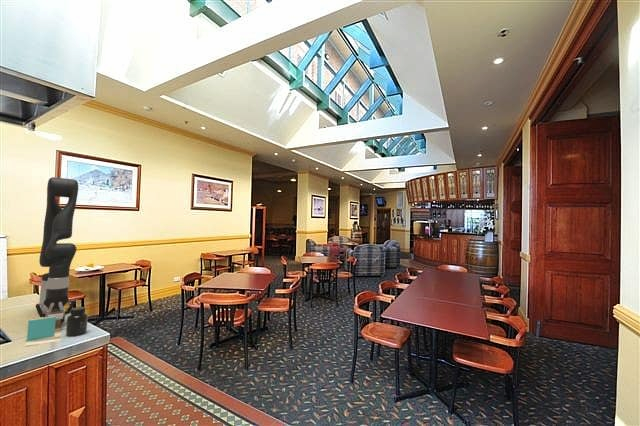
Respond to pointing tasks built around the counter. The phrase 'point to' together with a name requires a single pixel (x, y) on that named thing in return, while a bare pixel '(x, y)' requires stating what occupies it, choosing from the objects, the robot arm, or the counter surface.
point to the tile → (41, 328)
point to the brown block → (58, 316)
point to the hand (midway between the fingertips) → (54, 324)
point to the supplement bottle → (76, 322)
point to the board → (46, 339)
